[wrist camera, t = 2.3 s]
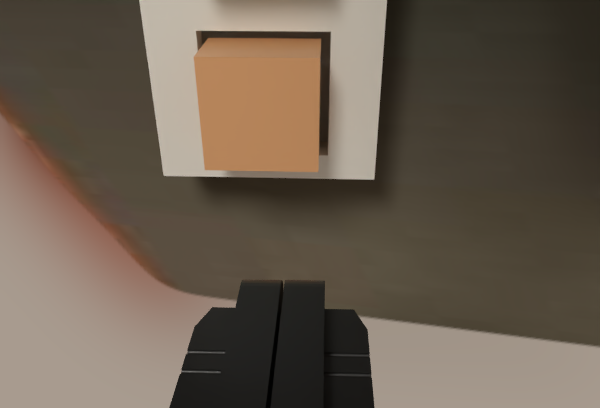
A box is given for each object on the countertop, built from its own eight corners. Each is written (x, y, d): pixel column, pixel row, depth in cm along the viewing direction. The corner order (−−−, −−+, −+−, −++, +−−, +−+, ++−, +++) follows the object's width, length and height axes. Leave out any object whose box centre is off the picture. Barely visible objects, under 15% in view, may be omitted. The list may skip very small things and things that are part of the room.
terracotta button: (208, 37, 24) (193, 56, 21) (321, 38, 24) (319, 58, 21) (217, 141, 26) (204, 170, 24) (319, 143, 26) (318, 172, 24)
